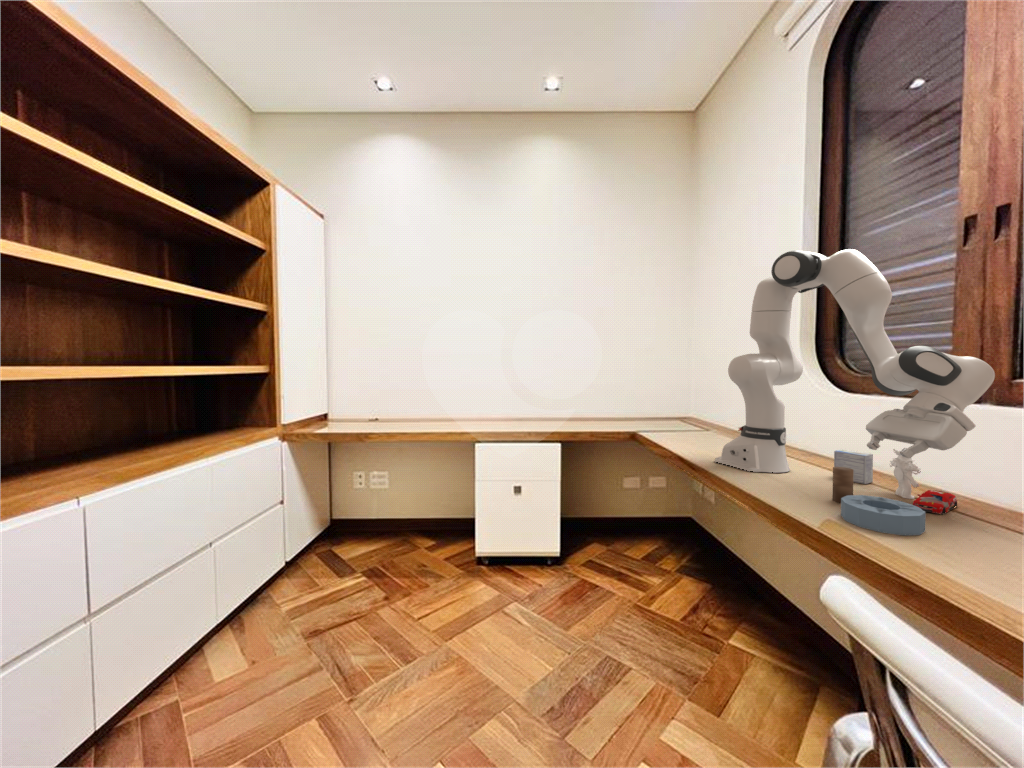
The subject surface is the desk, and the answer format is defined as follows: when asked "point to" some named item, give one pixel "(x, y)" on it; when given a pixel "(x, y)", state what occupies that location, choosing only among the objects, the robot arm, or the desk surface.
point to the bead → (883, 514)
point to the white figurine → (904, 475)
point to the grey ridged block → (856, 464)
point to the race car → (936, 501)
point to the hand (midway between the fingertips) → (886, 451)
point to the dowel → (842, 483)
